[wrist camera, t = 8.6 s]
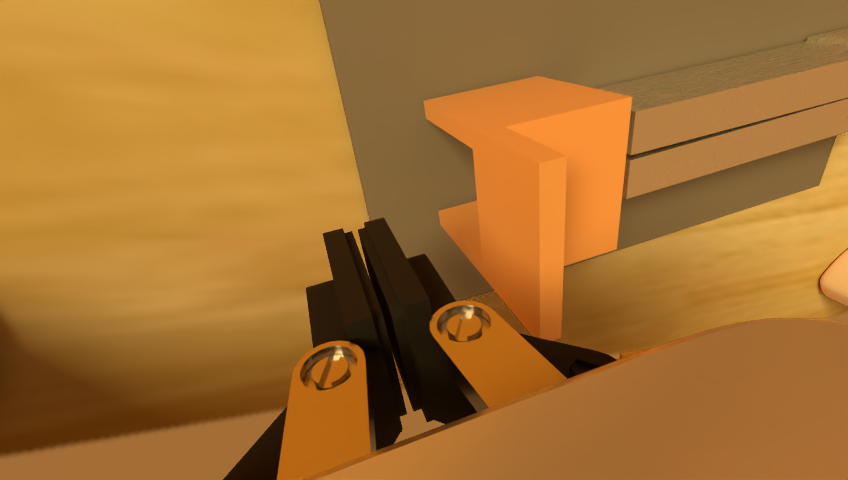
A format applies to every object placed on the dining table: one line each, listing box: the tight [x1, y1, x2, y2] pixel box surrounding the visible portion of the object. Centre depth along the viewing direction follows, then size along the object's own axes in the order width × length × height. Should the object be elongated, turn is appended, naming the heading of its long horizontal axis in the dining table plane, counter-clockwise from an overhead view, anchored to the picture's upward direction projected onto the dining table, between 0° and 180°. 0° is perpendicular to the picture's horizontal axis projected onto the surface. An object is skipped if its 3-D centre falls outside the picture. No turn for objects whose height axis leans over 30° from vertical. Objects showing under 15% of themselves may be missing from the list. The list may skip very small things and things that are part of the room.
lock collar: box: [423, 76, 632, 341], centre depth 15 cm, size 5×6×8 cm
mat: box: [319, 0, 848, 302], centre depth 20 cm, size 28×15×1 cm, turn 99°
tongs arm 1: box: [622, 98, 848, 199], centre depth 20 cm, size 16×2×4 cm, turn 99°
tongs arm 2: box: [596, 28, 848, 155], centre depth 19 cm, size 16×2×4 cm, turn 98°
